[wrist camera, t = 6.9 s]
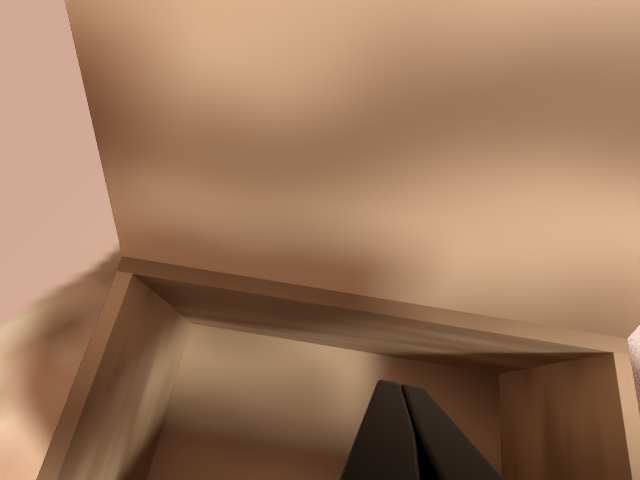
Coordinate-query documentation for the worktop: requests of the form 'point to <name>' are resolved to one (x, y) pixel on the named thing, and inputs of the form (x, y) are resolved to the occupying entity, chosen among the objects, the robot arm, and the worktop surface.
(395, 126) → the flap
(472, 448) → the robot arm
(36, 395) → the worktop surface
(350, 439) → the light wood open box
